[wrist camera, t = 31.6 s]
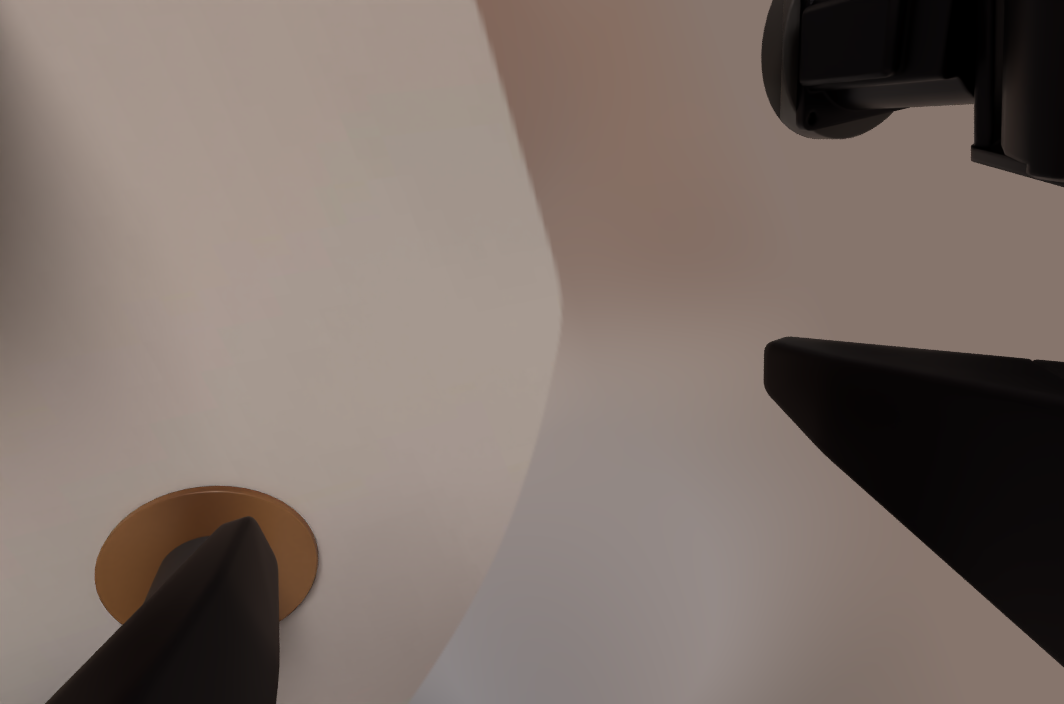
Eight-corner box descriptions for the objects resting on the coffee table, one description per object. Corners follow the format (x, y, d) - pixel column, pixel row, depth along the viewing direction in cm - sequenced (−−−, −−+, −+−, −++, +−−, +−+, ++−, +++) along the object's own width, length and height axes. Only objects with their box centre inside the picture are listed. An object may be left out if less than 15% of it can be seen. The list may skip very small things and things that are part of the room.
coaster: (277, 458, 21) (276, 464, 21) (343, 594, 24) (342, 601, 24) (54, 529, 19) (48, 536, 19) (157, 664, 23) (154, 673, 22)
